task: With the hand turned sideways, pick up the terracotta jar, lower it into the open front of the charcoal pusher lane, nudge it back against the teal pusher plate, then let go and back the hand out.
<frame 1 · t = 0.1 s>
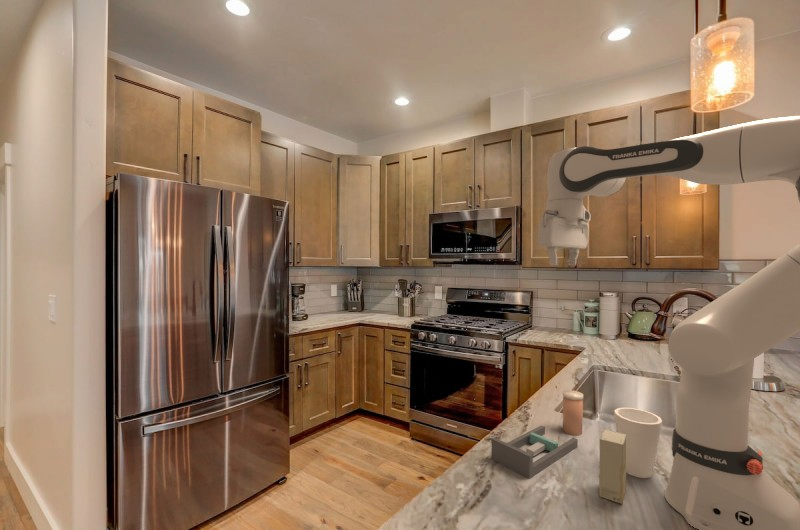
hand: (563, 265, 97), 48 cm above the counter, tool pointing down, fingers open, 8 cm apart
terracotta jar: (572, 431, 107), on the counter
pusher lane: (537, 451, 95), on the counter
skincare box: (612, 494, 78), on the counter
foam cup: (636, 471, 87), on the counter
pusher plate: (537, 446, 95), point 2 cm above the counter, slide at 0.0 cm
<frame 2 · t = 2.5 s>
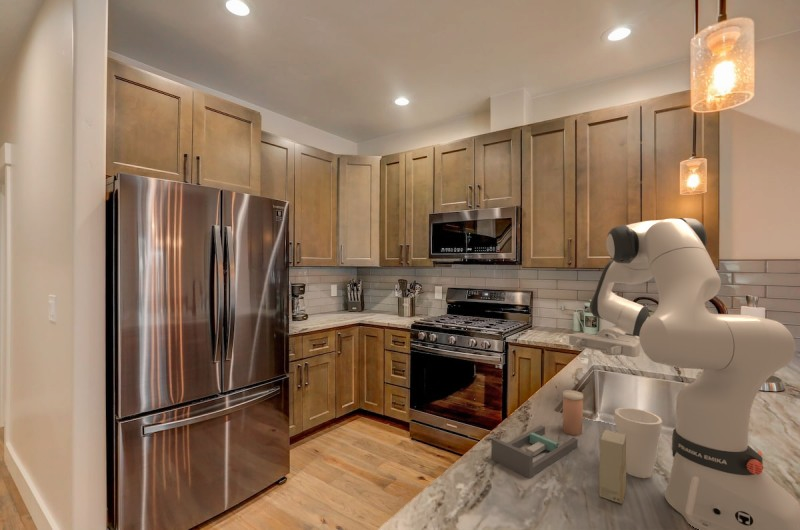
hand: (592, 347, 115), 22 cm above the counter, tool horizontal, fingers open, 8 cm apart
nothing on the counter moved.
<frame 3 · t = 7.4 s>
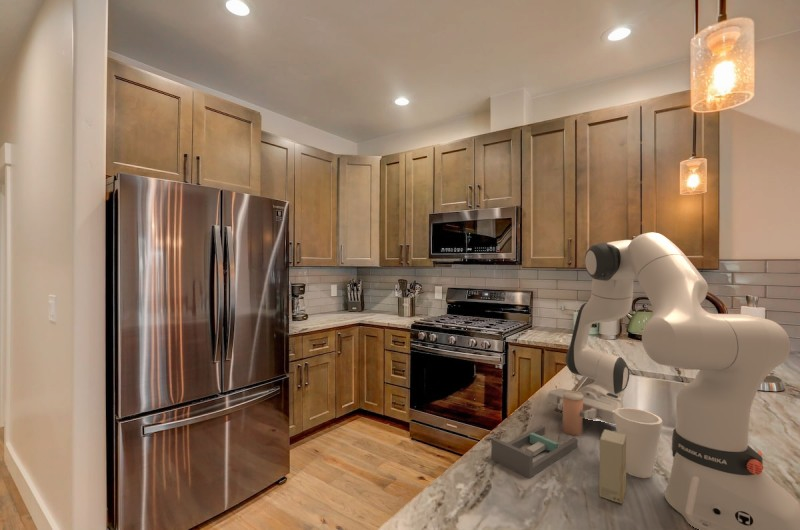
hand: (571, 411, 106), 6 cm above the counter, tool horizontal, fingers closed on terracotta jar, 5 cm apart
terracotta jar: (572, 431, 107), on the counter, touching gripper
everything else where it was.
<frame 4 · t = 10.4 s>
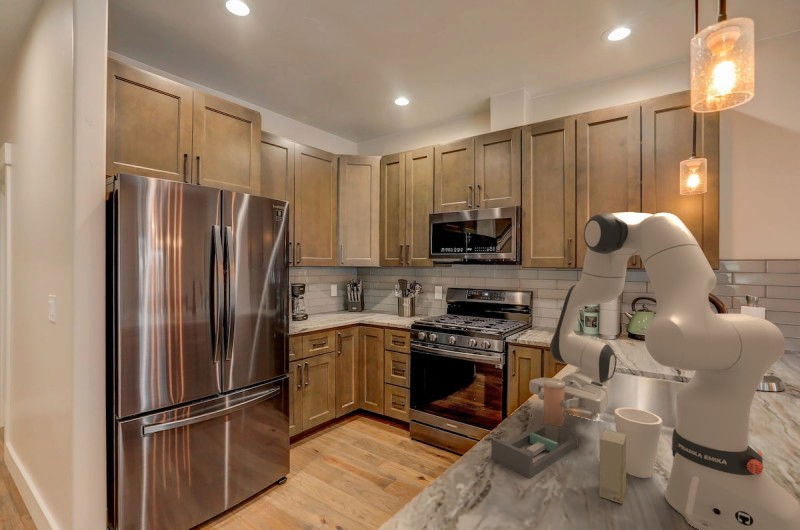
hand: (552, 400, 99), 12 cm above the counter, tool horizontal, fingers closed on terracotta jar, 5 cm apart
terracotta jar: (553, 421, 100), point 6 cm above the counter, touching gripper
everything else where it was.
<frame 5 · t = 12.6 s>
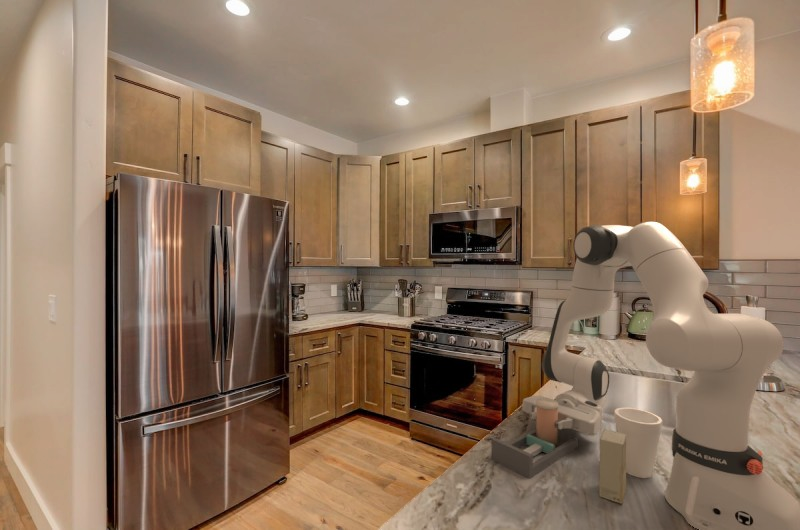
hand: (545, 421, 97), 7 cm above the counter, tool horizontal, fingers closed on terracotta jar, 5 cm apart
terracotta jar: (546, 443, 98), point 1 cm above the counter, touching gripper, pusher plate
pusher plate: (534, 448, 94), point 1 cm above the counter, slide at 1.6 cm, touching terracotta jar
everything else where it was.
when the fingers open (7 cm above the counter, at t = 13.4 s): terracotta jar stays where it is, resting in pusher lane.
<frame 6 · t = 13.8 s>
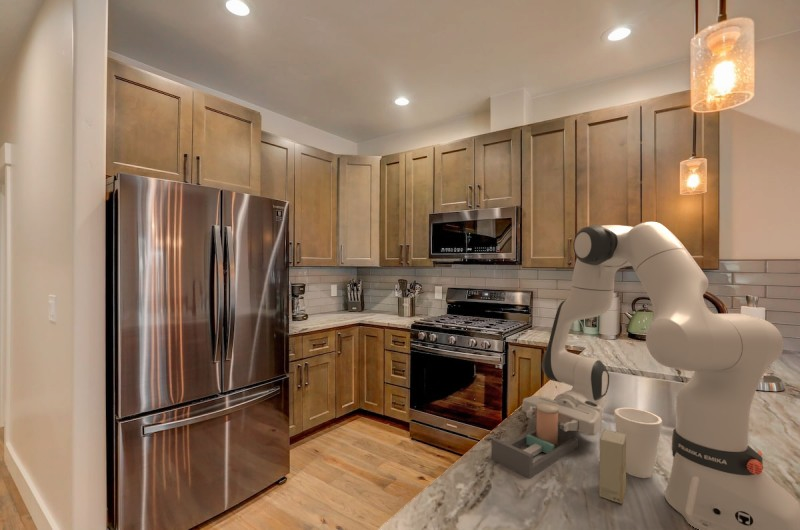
hand: (545, 421, 97), 7 cm above the counter, tool horizontal, fingers open, 8 cm apart
terracotta jar: (546, 446, 98), resting in pusher lane
pusher plate: (534, 448, 94), point 2 cm above the counter, slide at 1.7 cm
everything else where it was.
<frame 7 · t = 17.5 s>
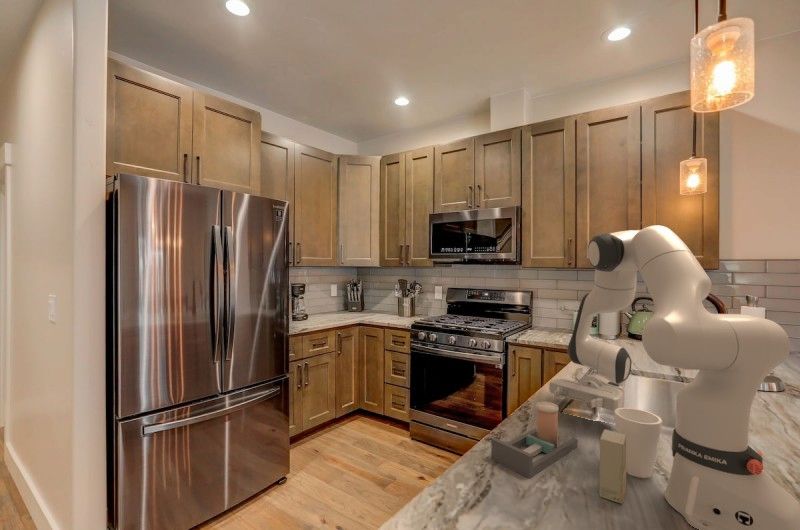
hand: (572, 399, 106), 10 cm above the counter, tool horizontal, fingers open, 8 cm apart
nothing on the counter moved.
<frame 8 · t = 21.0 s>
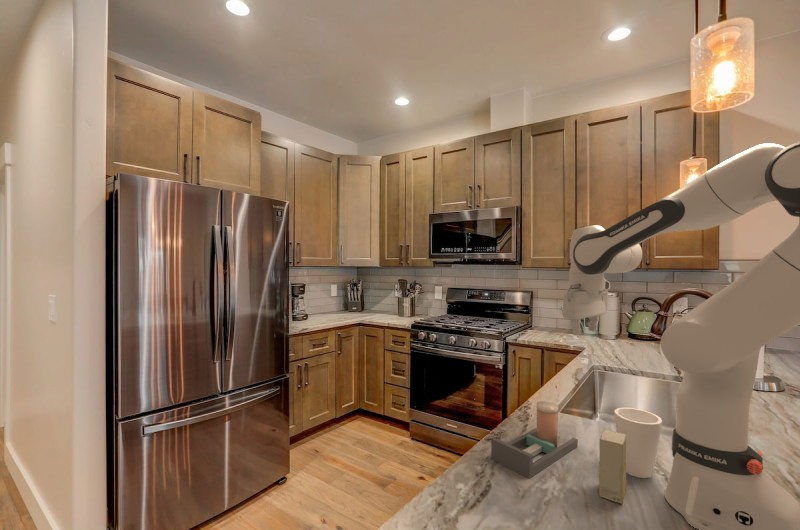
hand: (585, 332, 104), 29 cm above the counter, tool pointing down, fingers open, 8 cm apart
nothing on the counter moved.
at the end: terracotta jar 0.9 cm from the target spot on the pusher lane, point 0.0 cm above the pusher lane's base; terracotta jar tilted 0°; pusher plate slide at 1.7 cm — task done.
